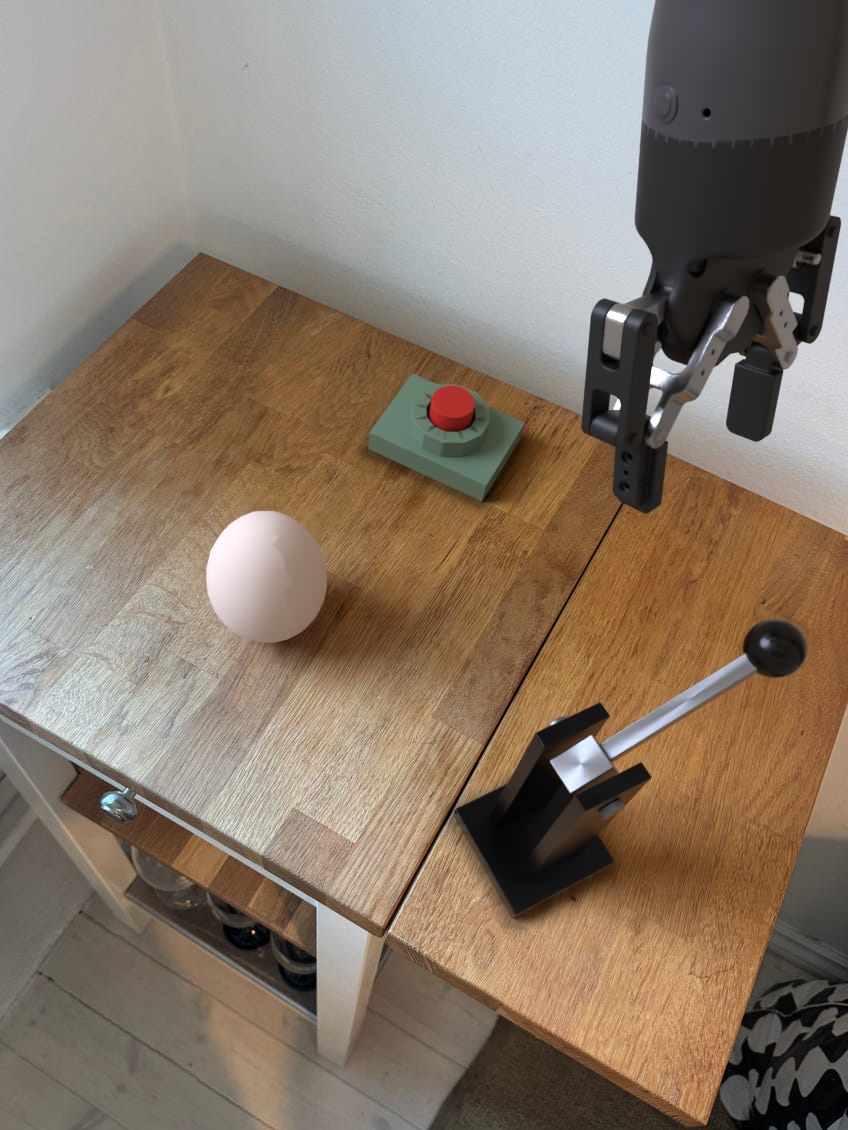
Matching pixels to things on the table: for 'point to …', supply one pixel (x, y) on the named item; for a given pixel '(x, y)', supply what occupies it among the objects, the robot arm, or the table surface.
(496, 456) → the button box
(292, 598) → the egg
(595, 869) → the bracket
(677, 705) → the lever
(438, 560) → the table surface
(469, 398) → the button
